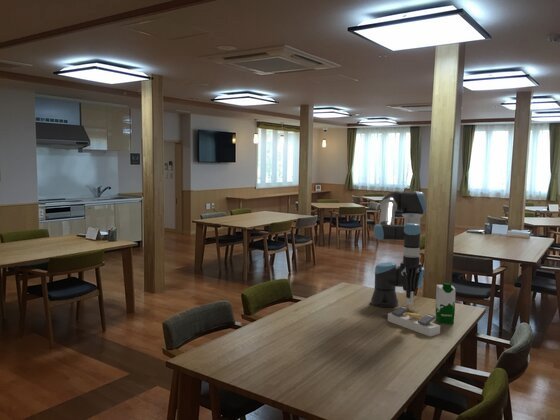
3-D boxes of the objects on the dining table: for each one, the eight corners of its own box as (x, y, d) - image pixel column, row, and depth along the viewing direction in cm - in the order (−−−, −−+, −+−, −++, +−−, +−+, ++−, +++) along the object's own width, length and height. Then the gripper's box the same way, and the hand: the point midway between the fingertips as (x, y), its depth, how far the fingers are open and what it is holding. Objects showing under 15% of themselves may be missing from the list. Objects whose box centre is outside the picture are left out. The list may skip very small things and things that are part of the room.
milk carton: (437, 323, 233) (439, 284, 231) (433, 318, 241) (435, 280, 240) (455, 324, 232) (457, 285, 230) (451, 318, 241) (452, 280, 239)
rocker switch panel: (385, 314, 247) (385, 305, 246) (439, 333, 219) (440, 323, 218) (376, 316, 243) (376, 307, 242) (430, 336, 215) (430, 325, 214)
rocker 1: (402, 307, 237) (402, 305, 237) (409, 309, 234) (408, 307, 234) (392, 314, 233) (391, 311, 233) (398, 316, 230) (398, 313, 230)
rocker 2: (414, 315, 231) (415, 313, 231) (421, 318, 228) (422, 315, 228) (404, 314, 226) (405, 311, 226) (410, 316, 223) (411, 313, 223)
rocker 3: (428, 316, 224) (428, 313, 224) (435, 318, 221) (435, 315, 221) (418, 323, 220) (417, 320, 220) (424, 325, 217) (424, 322, 217)
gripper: (414, 253, 229) (412, 300, 231) (395, 256, 222) (394, 304, 224) (426, 255, 223) (424, 304, 225) (408, 258, 216) (406, 308, 218)
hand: (409, 304), depth 225 cm, fingers closed
